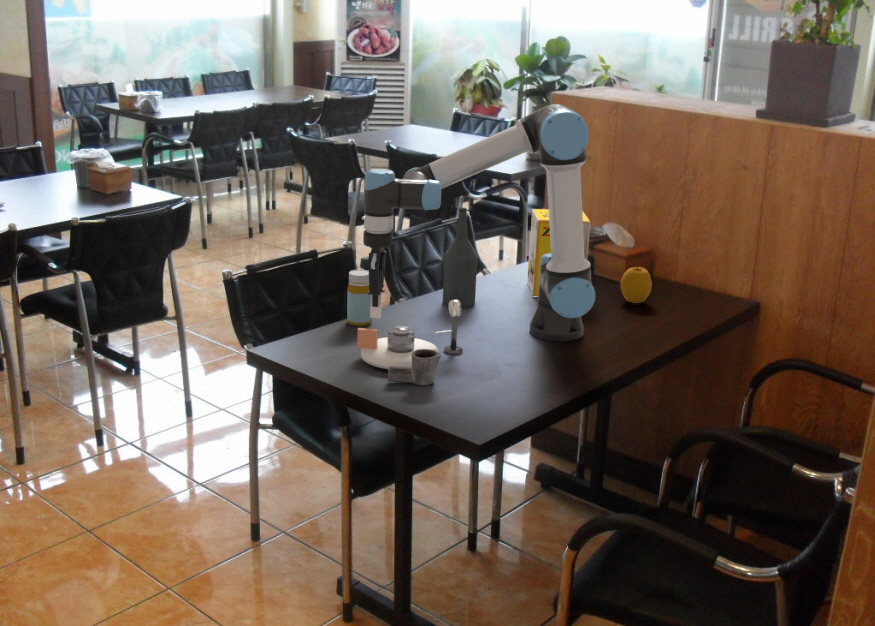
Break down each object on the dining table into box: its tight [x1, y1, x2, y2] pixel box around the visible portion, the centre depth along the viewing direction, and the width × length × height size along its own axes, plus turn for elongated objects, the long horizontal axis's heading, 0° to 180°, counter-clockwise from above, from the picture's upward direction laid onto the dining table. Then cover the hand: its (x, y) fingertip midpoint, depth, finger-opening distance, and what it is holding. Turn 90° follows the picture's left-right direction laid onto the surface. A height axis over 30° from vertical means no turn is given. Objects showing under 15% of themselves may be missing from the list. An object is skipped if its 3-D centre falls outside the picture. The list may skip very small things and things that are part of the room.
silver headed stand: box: [435, 300, 464, 356], centre depth 256 cm, size 8×5×14 cm, turn 118°
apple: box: [620, 266, 653, 304], centre depth 303 cm, size 10×10×12 cm
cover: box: [387, 325, 416, 353], centre depth 251 cm, size 7×7×6 cm
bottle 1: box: [346, 269, 373, 327], centre depth 276 cm, size 7×7×15 cm
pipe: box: [387, 349, 442, 386], centre depth 236 cm, size 6×13×8 cm, turn 95°
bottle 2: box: [442, 207, 478, 310], centre depth 293 cm, size 10×10×30 cm
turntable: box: [357, 327, 439, 370], centre depth 250 cm, size 21×20×6 cm
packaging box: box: [526, 208, 591, 297], centre depth 310 cm, size 16×16×25 cm
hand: (375, 316), depth 257 cm, fingers closed
